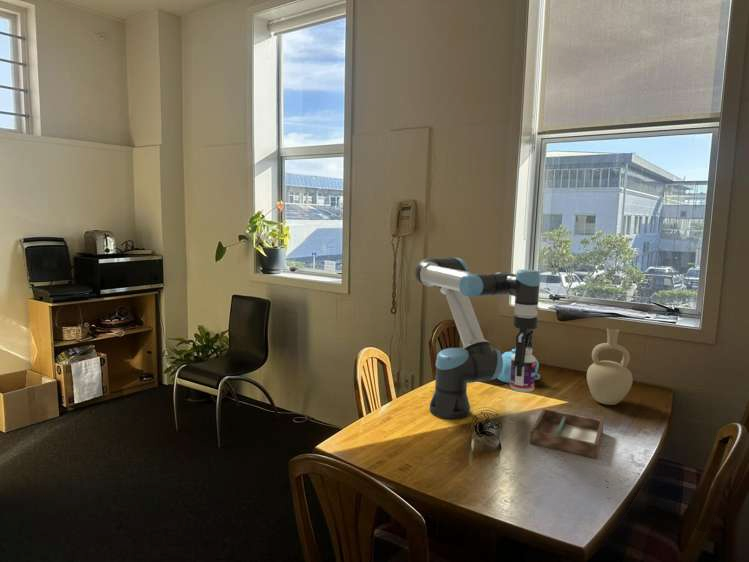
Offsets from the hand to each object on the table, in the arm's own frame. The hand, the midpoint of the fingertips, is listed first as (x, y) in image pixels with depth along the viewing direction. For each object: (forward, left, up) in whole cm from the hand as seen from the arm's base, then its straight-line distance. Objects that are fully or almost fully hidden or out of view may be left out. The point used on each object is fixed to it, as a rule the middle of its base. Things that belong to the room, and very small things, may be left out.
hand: (522, 381), depth 173 cm
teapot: (-16, +55, -18) cm, 60 cm away
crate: (+15, +2, -17) cm, 23 cm away
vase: (+24, +46, -18) cm, 55 cm away
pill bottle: (0, 0, -3) cm, 3 cm away
